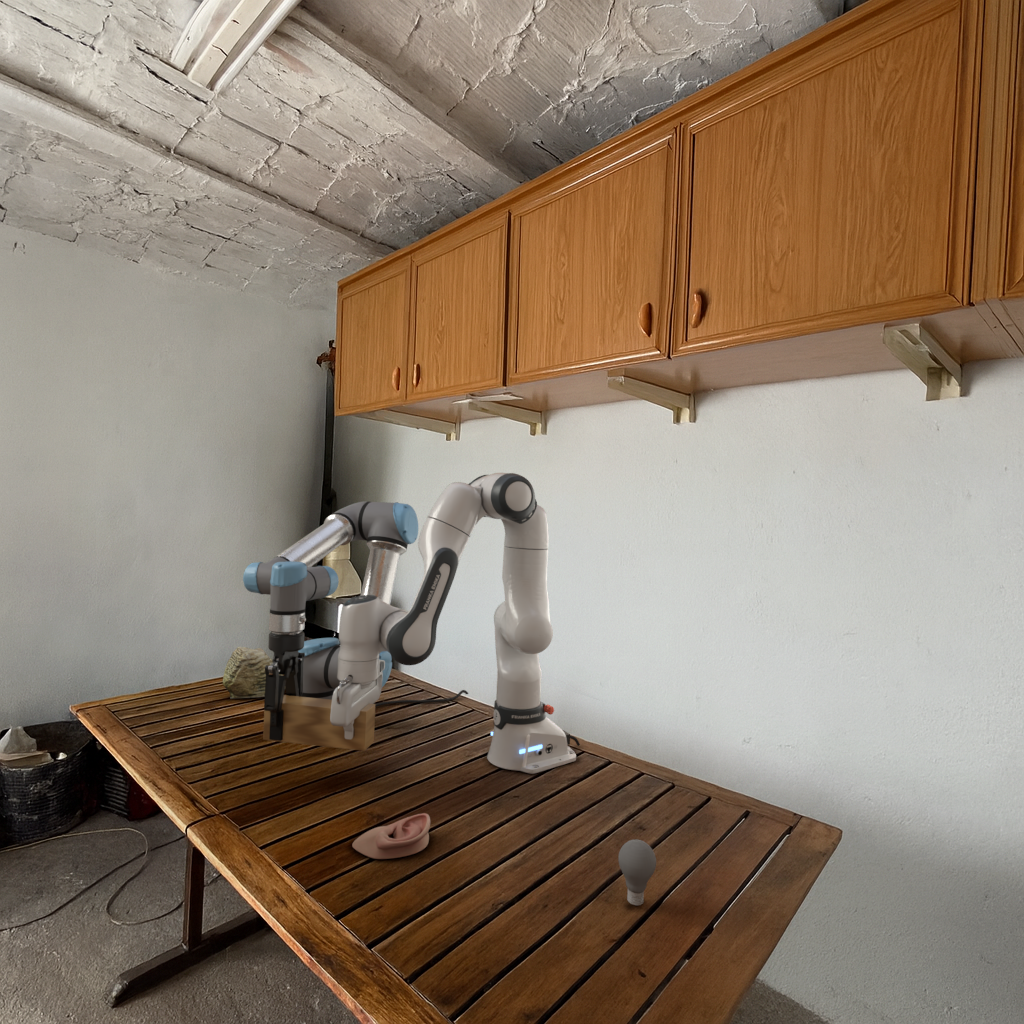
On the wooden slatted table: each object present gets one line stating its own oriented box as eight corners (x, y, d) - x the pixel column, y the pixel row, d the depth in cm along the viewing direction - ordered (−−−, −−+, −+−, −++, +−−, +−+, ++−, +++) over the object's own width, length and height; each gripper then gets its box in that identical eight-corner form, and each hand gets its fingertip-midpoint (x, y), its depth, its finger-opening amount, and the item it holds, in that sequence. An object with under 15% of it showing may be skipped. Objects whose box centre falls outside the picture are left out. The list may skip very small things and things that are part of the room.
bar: (263, 739, 140) (264, 701, 139) (275, 731, 145) (277, 694, 145) (364, 751, 136) (366, 711, 136) (374, 741, 141) (375, 703, 141)
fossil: (218, 695, 195) (220, 647, 195) (278, 685, 208) (279, 640, 207) (228, 703, 189) (230, 653, 188) (289, 692, 201) (290, 645, 201)
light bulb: (612, 891, 105) (615, 832, 105) (647, 891, 106) (650, 832, 105) (621, 915, 99) (624, 852, 99) (659, 914, 100) (662, 852, 99)
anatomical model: (345, 832, 112) (372, 802, 124) (344, 854, 113) (371, 822, 124) (415, 843, 110) (436, 812, 121) (414, 866, 110) (436, 832, 121)
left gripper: (281, 641, 132) (277, 752, 132) (321, 624, 150) (317, 722, 150) (248, 638, 133) (244, 748, 133) (291, 622, 151) (287, 719, 151)
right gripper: (353, 684, 128) (350, 752, 128) (387, 659, 148) (385, 718, 149) (323, 681, 129) (321, 749, 129) (362, 657, 149) (360, 716, 150)
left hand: (283, 734), depth 142 cm, fingers closed on bar, 5 cm apart
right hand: (355, 732), depth 139 cm, fingers closed on bar, 5 cm apart
